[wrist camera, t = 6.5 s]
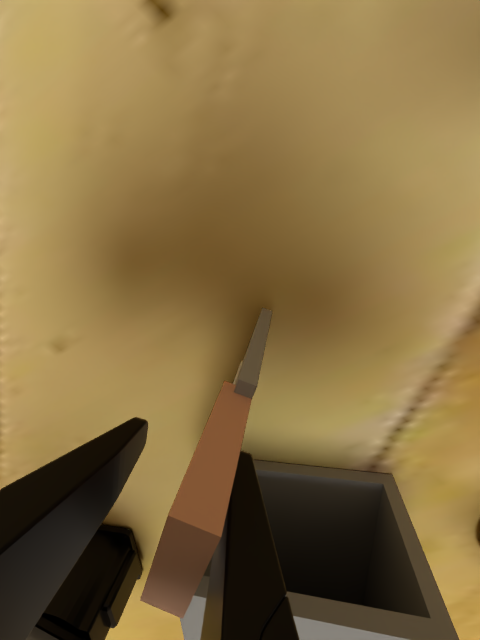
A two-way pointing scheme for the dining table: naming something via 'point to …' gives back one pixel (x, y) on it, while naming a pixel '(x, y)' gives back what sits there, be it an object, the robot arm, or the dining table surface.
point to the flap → (205, 489)
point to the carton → (344, 558)
